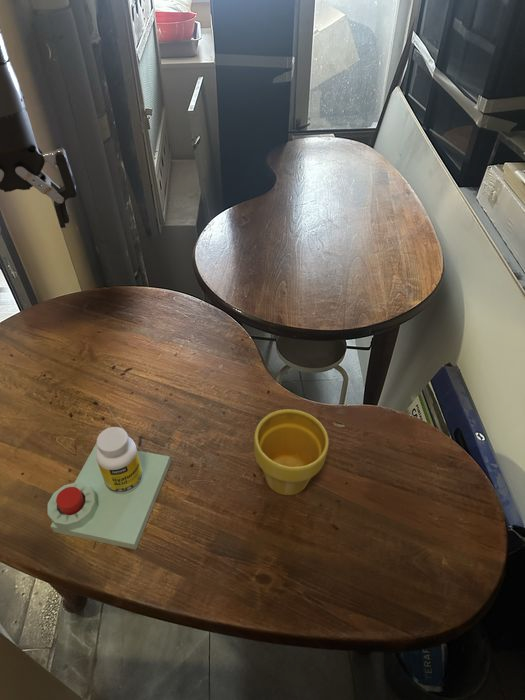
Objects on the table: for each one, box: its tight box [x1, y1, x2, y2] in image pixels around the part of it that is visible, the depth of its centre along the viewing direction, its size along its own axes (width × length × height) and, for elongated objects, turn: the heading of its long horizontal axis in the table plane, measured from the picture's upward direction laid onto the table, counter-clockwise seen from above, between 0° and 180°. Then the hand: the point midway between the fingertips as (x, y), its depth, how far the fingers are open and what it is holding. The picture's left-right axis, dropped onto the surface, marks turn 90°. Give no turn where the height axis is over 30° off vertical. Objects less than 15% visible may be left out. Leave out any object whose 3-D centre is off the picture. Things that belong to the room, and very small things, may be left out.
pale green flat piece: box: [47, 442, 172, 551], centre depth 69 cm, size 13×14×4 cm
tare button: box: [56, 487, 84, 515], centre depth 65 cm, size 3×3×2 cm
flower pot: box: [253, 408, 330, 496], centre depth 70 cm, size 10×10×10 cm
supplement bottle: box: [96, 426, 142, 494], centre depth 67 cm, size 5×5×10 cm
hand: (31, 229), depth 67 cm, fingers open, 8 cm apart
